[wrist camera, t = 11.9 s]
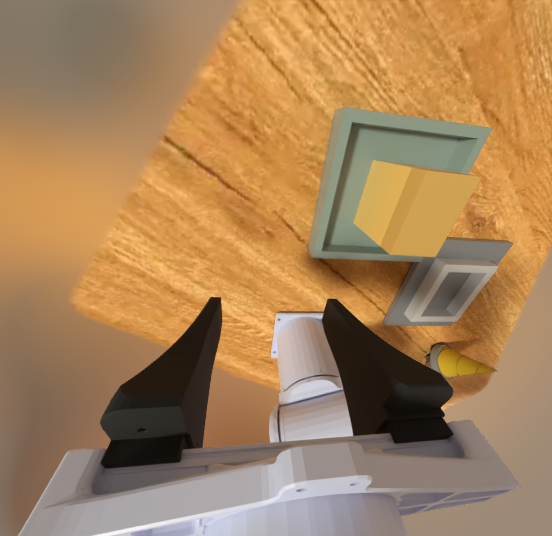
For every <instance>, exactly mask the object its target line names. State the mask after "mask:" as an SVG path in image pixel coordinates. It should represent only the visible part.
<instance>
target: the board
mask: <svg viewBox="0 0 552 536" xmlns="http://www.w3.org/2000/svg"><path fill="white" fill-rule="evenodd" d="M513 244H514V243H511V242H509V241H504V240H487V239H470V238H453V237H447V238H446V240H445V242H444V243H443V245H442V247H441V248H440V250H439V252H438V254H437V255H436V257H424V258H423V259H422V261H421V262H413V264H412V265H411V267H410V269H409V271H408V273H407V275H406V277H405V279H404V281H403V283H402V285H401V287H400V289H399V291H398V293H397V295H396V297H395V299H394V301H393V303H392V305H391V306H390V308H389V310H388V312H387V314H386V316H385V318H384V320H383V323H384V324H385V326H435V325H452V324H453V322H457V321H458V319H459V318H460V317H461V316H462V314H463V313H464V312H465V310H466V309H467V308H468V306H469V305H470V304H471V303H472V301H473V300H474V299H475V297H476V296H477V295H478V294H479V292H480V291H481V290H482V288H483V287H484V286H485V285H486V283H487V282H488V281H489V279H490V278H491V277H492V275H493V274H494V273H495V272H496V270H497V269H498V268H499V266H497V265H498V263H499V262H500V261H501V259H502V258H503V257H504V255H505V254H506V253H507V251H508V250H509V249H510V248H511V246H512V245H513Z"/></svg>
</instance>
